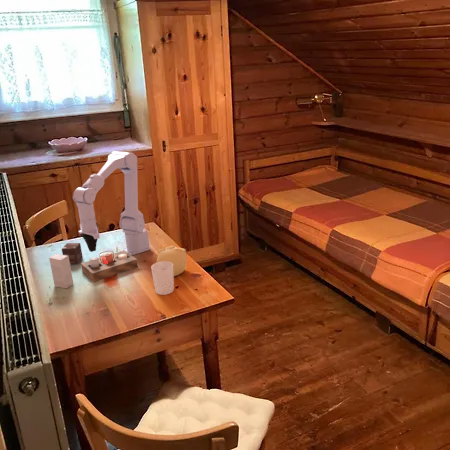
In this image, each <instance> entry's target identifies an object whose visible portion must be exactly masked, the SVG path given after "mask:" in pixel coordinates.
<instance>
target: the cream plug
mask: <svg viewBox="0 0 450 450" xmlns="http://www.w3.org/2000/svg"><path fill="white" fill-rule="evenodd" d="M126 258H127V255H126V254H120V255H118V259H119V260H123V259H126Z"/></svg>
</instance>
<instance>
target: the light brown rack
mask: <svg viewBox="0 0 450 450" xmlns="http://www.w3.org/2000/svg"><path fill="white" fill-rule="evenodd" d="M113 254H114V262H113V263H110V264H107V265H106V264H103V263H101V261H100V258H101V257H98V258H99V265H100V267H97V268H94V269H91V266H90V260H88V261H85V262H81V263H80V266H81V271H82V272H83V273H84V274H85V275H86V276H87V277H88V278H89V279H90V280H92V281H93V282H96V281H97V282H98V281H100V280H102V279H106V278H110V277H112V276H115V275H117V274H121V273H124V272H127V271H130V270H133V269H136V268H138V267H139V264H138V258H136V257H135V256H134V255H130V254H129V253H127V252H126V251H124V250H121V251H118V252H115V253H113ZM120 254H126V255H127V258H126V259H123V260H119V259H118V255H120Z"/></svg>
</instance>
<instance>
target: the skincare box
mask: <svg viewBox="0 0 450 450" xmlns="http://www.w3.org/2000/svg"><path fill="white" fill-rule="evenodd" d="M49 263H50V269H51V270H50V271H51V274H52V278H53V279H52V280H53V285H54V287H56V288H57V287H58V288H62V289H68V288H70V287H72V286H73V285H74V278H73V273H72V268H71V264H70V262H69V256H67V255H63V254H59V253H56V254H54V255H52V256H50V257H49Z"/></svg>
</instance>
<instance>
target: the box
mask: <svg viewBox="0 0 450 450" xmlns="http://www.w3.org/2000/svg"><path fill="white" fill-rule="evenodd" d="M61 253H62V255H67V256H69V262H70V265H79V263H80V262H81V261H82V260H83V251H82V246H81V243H80V242H68V243H65V245H64V246H63V247H62V248H61Z"/></svg>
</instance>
